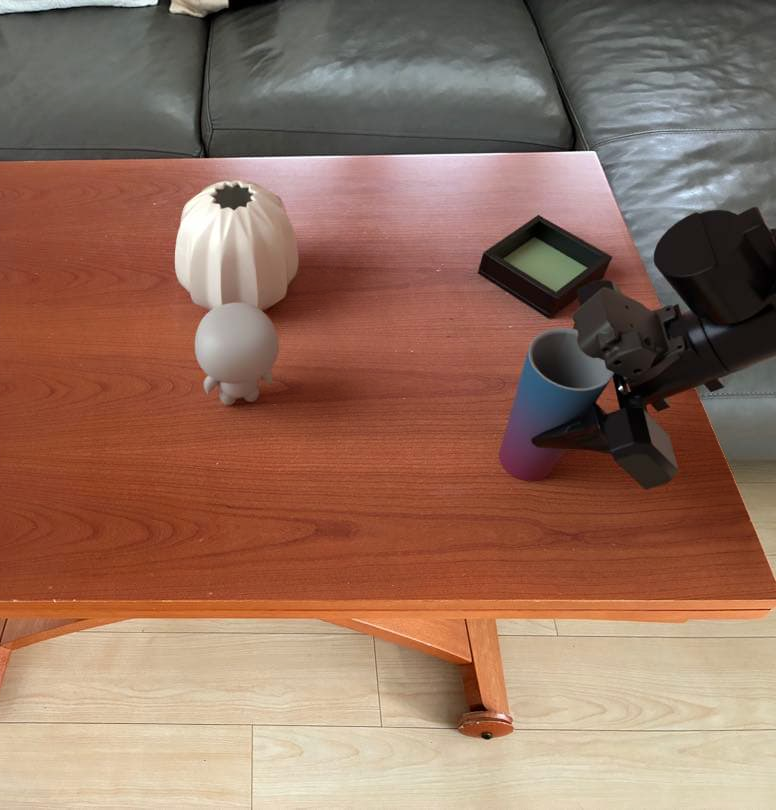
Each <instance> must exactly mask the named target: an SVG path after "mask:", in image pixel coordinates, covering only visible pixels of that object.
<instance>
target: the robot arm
mask: <svg viewBox="0 0 776 810" xmlns="http://www.w3.org/2000/svg"><path fill="white" fill-rule="evenodd" d="M760 209H761V208H759V207H758V206H753V207H750V208H748V209H746V210H744V211H742V212H740V213H735V212H733V211H729V210H726V209H725V210H724V209H713V210H707V211H703V212H693V213H691V214H689V215H687V216H684V217H683V218H681V219H680V220H679V221H676V222H675V223H674V224H673V225H671V226H670V228H668V229H667V230H666V232H665V233H664V234H663V235H662V236H661V237H660V239H659V240H658V242H657V244H656V246H655V248H654V251H653V263H654V266H655V267H656V269H657V270H658V272H659V273H660V274H661V276H662V277H663V278H664V279H665V280H666V281H667V283H668V284H669V285H670V286H671V288H672V289H673V290H674V291H675V292H676V294H677V295H678V296H679V297H680V299H681V300H682V301H683V303H684V304H685V305H686V306H687V308H688V309H689V310H688V311H685V310H684V308H682V306H681V305H680V304H679V303H677V304H676V303H675V304H674V305H672V304H668V305H665V306H663V307H661V308H658V309H654V310H652V309H649V308H647V307H646V306H645V305H644V304H643V303H641V302H640V301H638V300H636V299H634V298H631V297H629V296H627V295H625V294H624V293H623V292H622V291H621V289H620V288H619V287H618V286H617V285H616V284H615V283H614V281H613V280H610V279H609V280H608V279H607V280H606V279H601V280H595V281H593V282H591V283H589V284H587V285H585V286H583V287H581V288H579V289H577V294H578V297H577V299H578V304H579V306H578V308H577V309H575V310H574V311H573V313H572V320H573V326H572V329H576V330H577V331H578V338H577V342H578V346H579V348H580V349H581V350H582V351H583V352H584V353H585V354H586V355H588V356H589V357H592V358H599V359H602V360H604V361H605V365H606V369H607V370H610V371H612V372H614V375H613V377H612V382H613V386H614V389H615V394H616V398H617V403H618V408H619V409H617V410H615V411H614V410H613V411H611V412H608V413H607V412H606V411H605V410H604V409H603V408H602V407H601V406H600V405H599V404H598V403H597V401H596V402H595V401H594V402H593V403H592V404H591V406H590V407H589V409H588V410H587V412H586V413H585V415H584V416H582V417H580V418H577V419H575V420H572V421H570V422H567V423H565V424H562V425H560V426H557V427H555V428H552V429H550V430H547V431H545V432H543V433H541V434H539V435H537V436H535V437H533V438H532V439H531V442H532V444H534V445H535V446H536V447H538V448H553V449H565V450H571V451H573V450H574V451H575V450H576V451H587V452H588V451H589V452H596V453H603V454H608V455H611V457H612V459H613V461H614V462H615V463H616V464H617V465H618V466H620V468H621V469H623V470H624V471H625V472H626V473H627V474H628V475H629V476H630V477H631V478H632V479H633V480H634V481H635V482H636V483H638V484H639V485H640V486H641V487H642V488H643V489H644V490H646V491H647V490H651V489H654V488H657V487H660V486H664V485H667V484H668V483H670V482H671V481H672V480H673V479H674V477H675V476H676V475H677V473H678V472H679V466H678V463H677V460H676V456H675V452H674V449H673V444H672V440H671V438H670V435H669V434H668V432H666V431H665V429H664V428H663V427H662V426H661V425H660V424H659V423H658V422H657V421H656V420H655V419H654V418H653V417H652V416H651V415H650V414H649V411H648V407H647V406H648V405H651V407H653V408H654V410H655V411H656V412H661V411H664V410H667V409H669V408H671V405H670V401H669V398H671V397H674V396H676V395H678V394H682V393H684V392H686V391H689V390H692V389H694V388H698V387H699V386H702V385H704V386H705V387H706V388H707V390H708V391H709V392H710V393H714V392H716V391H719V390H722V389H724V388H725V385H724V381H723V378H724V377H726V376H729V375H732V374H734V373H735V374H736V373H737V372H740V371H743V370H745V369H748V368H750V367H753V366H755V365H758V364H762V363H764V362H766V361H770V360H772V359H775V358H776V228H770V227H769V225H768V222H767V220H766V218H765V215H764V214H763V212H762V211H761V210H760Z"/></svg>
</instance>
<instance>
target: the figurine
mask: <svg viewBox="0 0 776 810" xmlns="http://www.w3.org/2000/svg"><path fill="white" fill-rule="evenodd" d="M279 351H280V341H279V335H278V333H277V329H276V326H274V323H273V322H272V320H271V318H270V317H269V316H268V315H267V314H266V313H265V312H264V310H263V311H261V310H260V309H259V308H257V307H255V306H253V305H251V304H247V303H228V304H224V305H220V306H218V307H216V308H214V309H212V310H211V311H209V310H208V312H207V313H206V314H205V315H204V316H203V317H202V319H201V320H200V323H199V324H198V327H197V330H196V333H195V338H194V353H195V358H196V360H197V363H198V365H199V367H200V369H202V371H203V372H204V373H205V375H207V376H206V377H205V379H204V381H203V389H204V391H205V392H206V395H209V394H210V393H211V392H213V391H214V390H215V389H216V388H217V385H218V388H219V391H218V395H219V396H218V397H219V399H220V401H221V403H223V405H225V406H231V405H233V404H235V402H237V401H236V400H237V399H241V398H243V399H244V400H245V401H246V402H249V403H250V402H251V403H252V402H255V401H256V400H257V399H258V398H259V394H260V387H259V383H260V378H261V380H262V381H263V382H264V383H267V384H269V385H272V384H273V380H274V373H273V370H272V368H273V367H274V365H275V364H276V361H277V360H278V356H279Z"/></svg>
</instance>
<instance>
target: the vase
mask: <svg viewBox="0 0 776 810" xmlns="http://www.w3.org/2000/svg"><path fill="white" fill-rule="evenodd" d="M179 224H180V225H179V228H178V230H177V236H176V241H175V251H174V268H175V275H176V278H177V281H178V283H179V284H180V285H181V286H182V287H183V288H184V289H185V290H186V291H187V292H188V293H189V295H190V298H191V301H192V303H193V304H195V305H197V306H199V307H201V308H203V309H204V310H207V311H208V312H209V311H211V310H212V309H214V308H216V307H218V306H220V305H224V304H228V303H247V304H251V305H253V306H255V307H257V308H259V309H260V310H261V311H263V312H264V311H266V310H267V309H269V308H271V307H272V306H274V305H275V304H277V303H278V302H280V301H281V300H283V299H284V298H286V296H287V290H288V286H289V285H290V284H291V282H292V281H293V280H294V279H295V277H296V276H297V273H298V268H299V257H300V256H299V250H298V243H297V239H296V233H295V230H294V226H293V224H292V221H291V220H290V218H289V216H288V213H287V209H286V206H285V204H284V202H283V200H282V198H281V197H280V196H279V195H277V194H275V193H273V192H272V191H271V190H268V189H266V188H264V187H263V186H262V185H260V184H258V183H256V182H252V181H249V180H240V179H234V180H224V181H219V182H215V183H213V184H211V185H209V186H206V187H204V189H202V190H201V191H200V193H197V195H195V196H193V197H192V198H191V199H189V200H188V201H187V202H186V203H185V205H184V207H183V209H182V212H181V217H180V223H179Z"/></svg>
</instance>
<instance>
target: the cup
mask: <svg viewBox="0 0 776 810" xmlns="http://www.w3.org/2000/svg"><path fill="white" fill-rule="evenodd" d="M577 338H578V331H577V330H576V329H573V328H570V327H569V328H568V327H559V328H551V329H547V330H544V331H542V332H541V333H539V334H537V335H536V336H535V337H534V338H533V339H532V340H531V342H530V344H529V346H528V350H527V353H526V357H525V360H524V364H523V367H522V371H521V374H520V378H519V382H518V385H517V389H516V392H515V395H514V398H513V402H512V406H511V410H510V413H509V417H508V420H507V423H506V426H505V427H506V428H505V430H504V434H503V438H502V440H501V445H500V448H499V452H498V458H499V462H500V465H501V466H502V468H503V469H504V470H505V472H507V473H508V474H509V475H511V476H512V477H513V478H516V479H518V480H520V481H525V482H536V481H540V480H543V479H545V478H546V477H547V476H548V475H549V474H551V472H552V470H553V469H554V467H555V465H556V464H557V463H558V461H559V459H560V458H561V457H562V455H563V453H564V452H565V450H566V449H553V448H538V447H536V446H535V445H534V444H532V442H531V439H532V438H533V437H535V436H537V435H539V434H541V433H543V432H545V431H547V430H550V429H552V428H555V427H557V426H560V425H562V424H565V423H567V422H570V421H572V420H575V419H577V418H580V417H582V416H584V415H585V413H586V412H587V410H588V409H589V407H590V406H591V404H592V403H593V402H594V401H595V402H596V403H597V401H598V400H599V399H600V397H601V395H602V394H603V392H604V390H605V389H606V388H607V387H608V385H609V383H610V382H611V380H613V375H614V372H612V371H610V370H607V369H606V365H605V361H604V360H602V359H599V358H592V357H589V356H588V355H586V354H585V353H584V352H583V351H582V350H581V349H580V348H579V346H578V342H577Z"/></svg>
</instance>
